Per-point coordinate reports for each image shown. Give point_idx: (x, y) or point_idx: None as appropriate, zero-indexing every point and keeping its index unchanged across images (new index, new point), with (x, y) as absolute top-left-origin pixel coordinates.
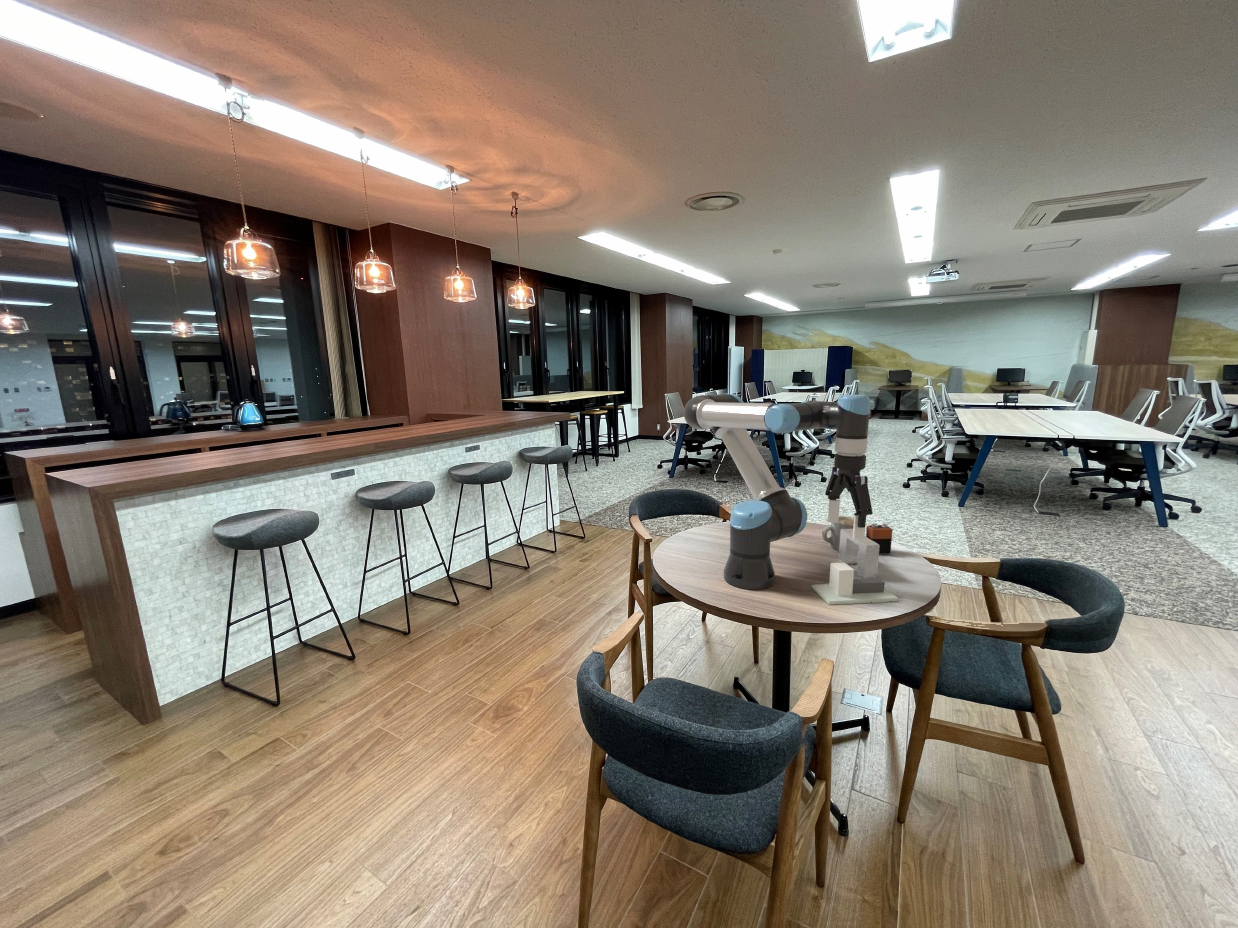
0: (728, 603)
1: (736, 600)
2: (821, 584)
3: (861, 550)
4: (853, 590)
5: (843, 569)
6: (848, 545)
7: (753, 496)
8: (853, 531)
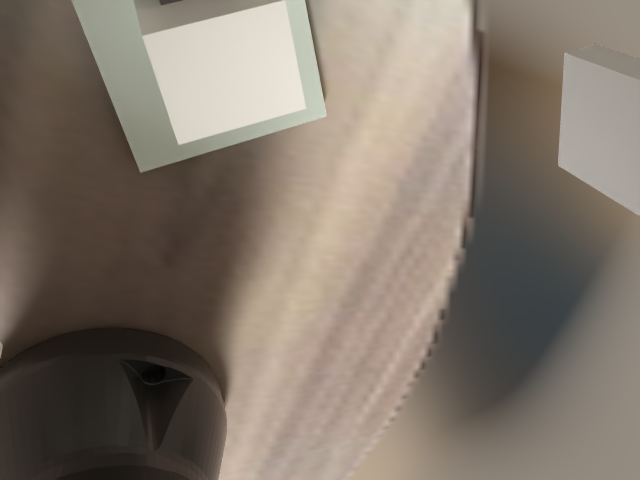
0: (342, 438)
1: (318, 423)
2: (121, 122)
3: None
4: None
5: (284, 76)
6: None
7: None
8: (621, 196)
